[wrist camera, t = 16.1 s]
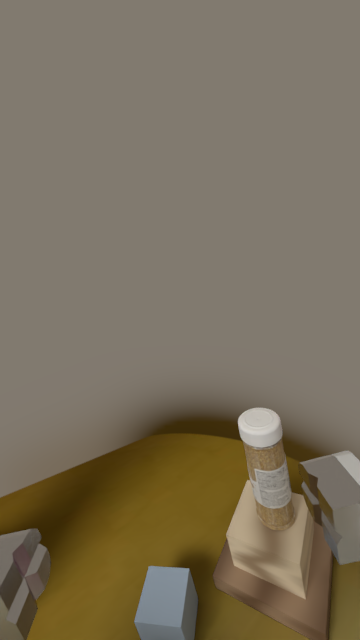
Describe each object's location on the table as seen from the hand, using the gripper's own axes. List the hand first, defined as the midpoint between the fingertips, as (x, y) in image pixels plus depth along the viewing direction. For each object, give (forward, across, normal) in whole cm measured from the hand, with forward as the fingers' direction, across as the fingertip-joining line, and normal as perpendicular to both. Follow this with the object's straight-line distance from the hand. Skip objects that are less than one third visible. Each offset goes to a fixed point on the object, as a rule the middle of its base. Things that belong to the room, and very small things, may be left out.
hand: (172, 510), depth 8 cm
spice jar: (+19, -7, +25) cm, 32 cm away
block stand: (+19, -6, +32) cm, 38 cm away
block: (+15, +7, +32) cm, 36 cm away
